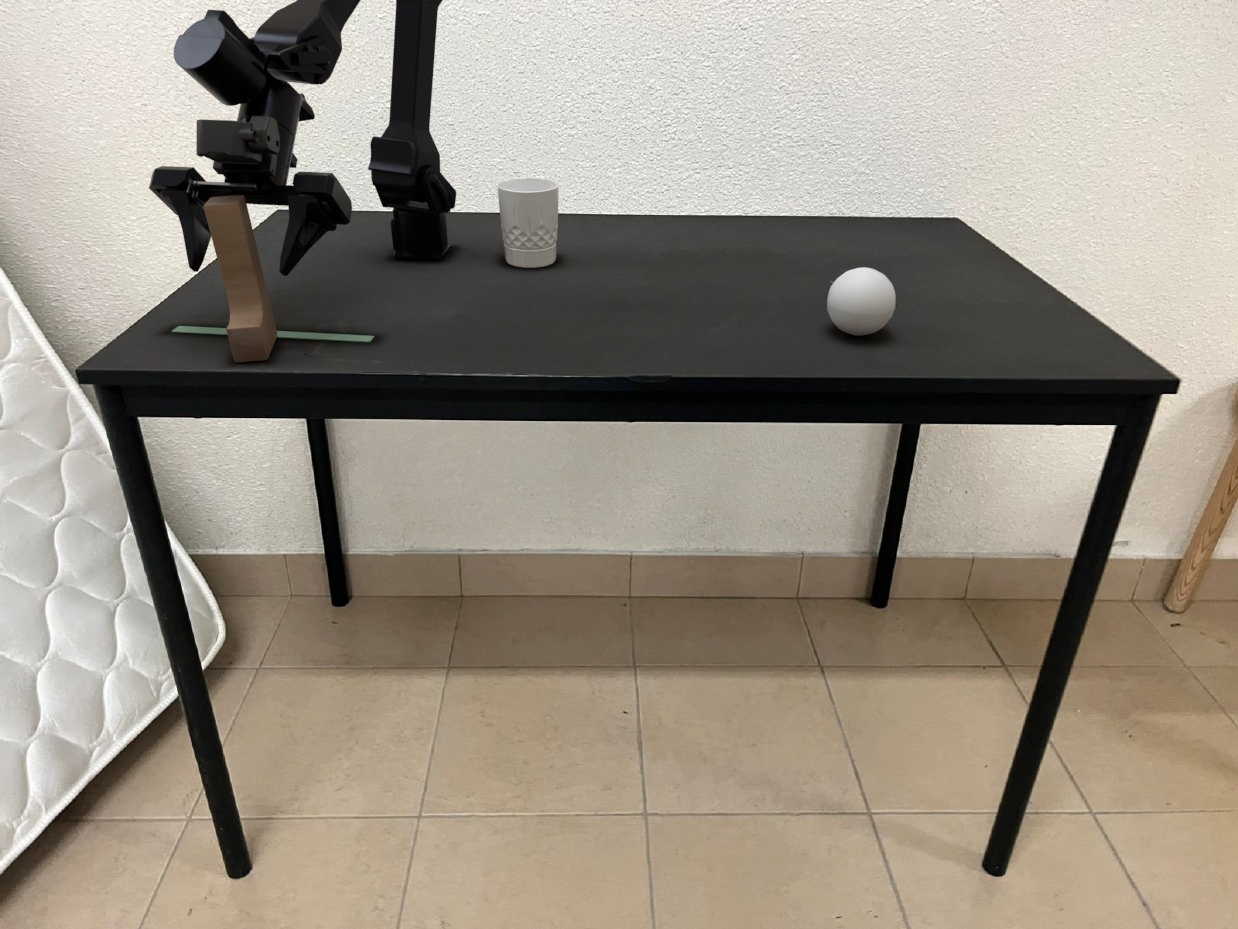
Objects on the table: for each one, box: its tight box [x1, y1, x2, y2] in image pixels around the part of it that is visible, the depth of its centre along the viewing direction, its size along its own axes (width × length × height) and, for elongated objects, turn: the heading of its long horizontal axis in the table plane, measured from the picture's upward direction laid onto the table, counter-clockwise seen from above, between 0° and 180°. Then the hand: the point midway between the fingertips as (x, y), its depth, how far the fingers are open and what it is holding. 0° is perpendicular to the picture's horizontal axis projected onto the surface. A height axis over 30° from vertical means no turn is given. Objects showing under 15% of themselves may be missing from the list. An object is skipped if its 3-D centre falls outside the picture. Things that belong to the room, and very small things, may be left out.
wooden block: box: [204, 195, 278, 363], centre depth 89 cm, size 7×3×15 cm, turn 10°
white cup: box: [496, 177, 560, 269], centre depth 117 cm, size 8×8×10 cm
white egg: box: [825, 266, 897, 337], centre depth 99 cm, size 10×7×7 cm
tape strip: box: [170, 325, 375, 343], centre depth 96 cm, size 22×2×1 cm, turn 85°
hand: (238, 271), depth 88 cm, fingers open, 9 cm apart
